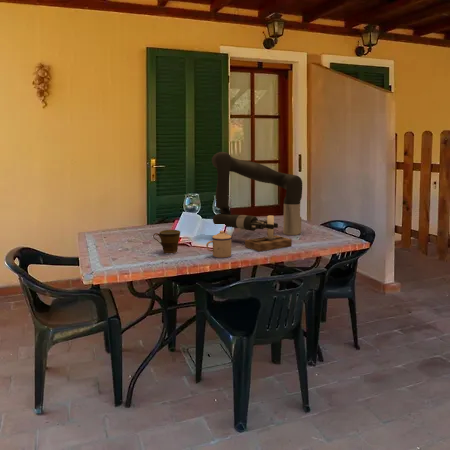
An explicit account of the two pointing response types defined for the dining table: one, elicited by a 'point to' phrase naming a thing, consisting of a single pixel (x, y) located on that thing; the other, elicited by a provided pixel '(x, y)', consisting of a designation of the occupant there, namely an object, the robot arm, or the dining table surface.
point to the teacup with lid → (221, 245)
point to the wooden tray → (268, 243)
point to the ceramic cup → (169, 240)
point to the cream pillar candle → (270, 231)
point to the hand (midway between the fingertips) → (275, 226)
